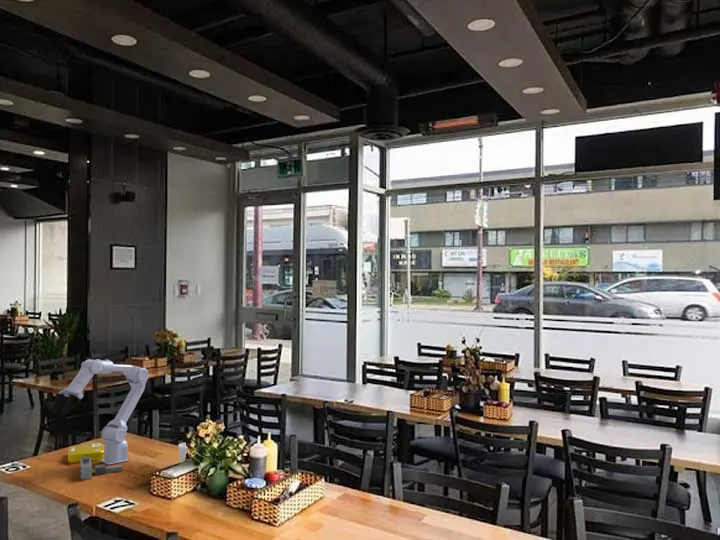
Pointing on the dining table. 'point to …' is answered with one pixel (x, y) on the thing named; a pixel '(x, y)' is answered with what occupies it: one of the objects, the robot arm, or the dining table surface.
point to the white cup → (182, 451)
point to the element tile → (86, 452)
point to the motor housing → (86, 468)
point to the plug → (106, 469)
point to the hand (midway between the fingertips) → (58, 411)
